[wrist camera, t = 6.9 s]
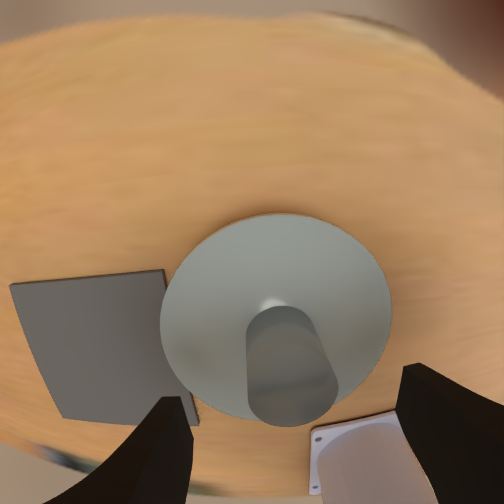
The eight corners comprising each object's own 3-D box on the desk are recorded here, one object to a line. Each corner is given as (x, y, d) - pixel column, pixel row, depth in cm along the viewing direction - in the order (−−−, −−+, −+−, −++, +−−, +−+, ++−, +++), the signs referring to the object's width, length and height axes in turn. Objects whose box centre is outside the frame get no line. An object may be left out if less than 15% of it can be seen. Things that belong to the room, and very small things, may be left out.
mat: (199, 421, 19) (198, 425, 19) (64, 415, 19) (63, 418, 19) (163, 269, 17) (161, 271, 16) (12, 283, 16) (8, 285, 16)
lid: (371, 397, 16) (402, 458, 11) (183, 414, 16) (170, 482, 11) (391, 208, 13) (455, 230, 8) (148, 221, 13) (102, 251, 8)
